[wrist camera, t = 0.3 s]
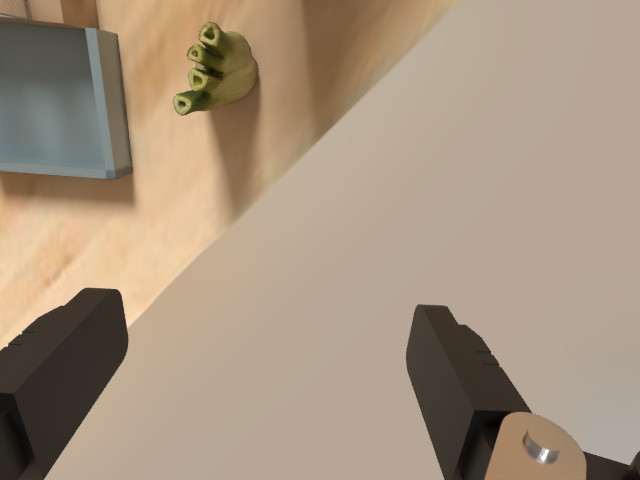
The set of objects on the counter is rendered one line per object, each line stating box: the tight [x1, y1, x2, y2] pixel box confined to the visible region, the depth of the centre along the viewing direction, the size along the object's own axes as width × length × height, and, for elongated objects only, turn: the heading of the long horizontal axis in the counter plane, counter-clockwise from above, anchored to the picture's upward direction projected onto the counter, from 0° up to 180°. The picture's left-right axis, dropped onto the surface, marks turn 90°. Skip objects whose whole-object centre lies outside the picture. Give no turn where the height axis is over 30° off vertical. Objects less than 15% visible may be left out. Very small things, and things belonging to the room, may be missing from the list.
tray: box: [0, 22, 133, 180], centre depth 32 cm, size 12×13×4 cm
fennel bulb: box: [173, 22, 259, 116], centre depth 28 cm, size 6×5×12 cm
